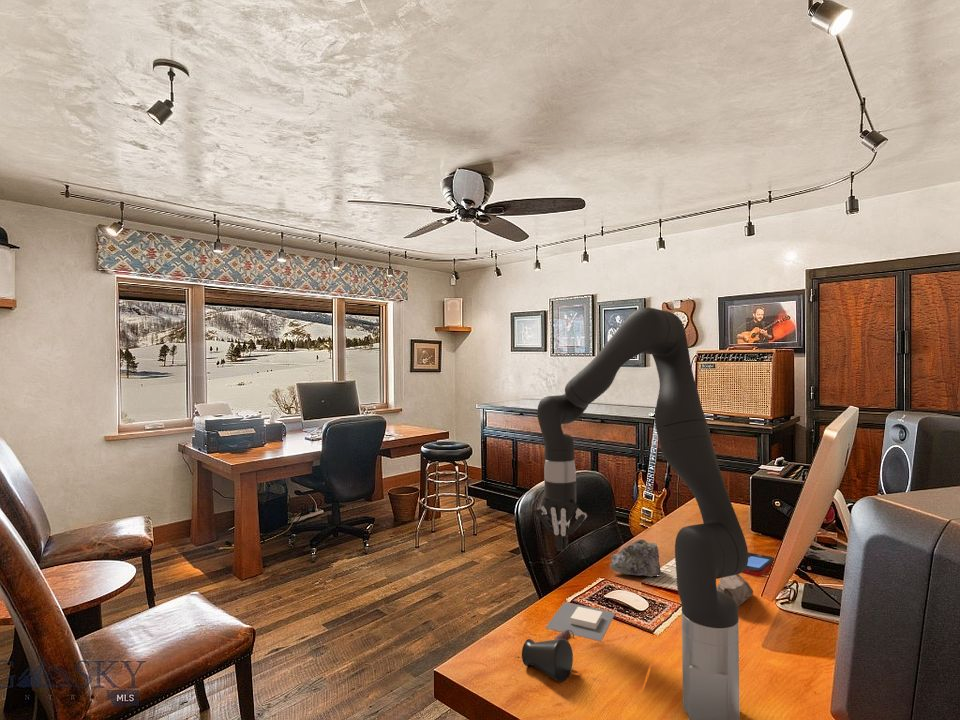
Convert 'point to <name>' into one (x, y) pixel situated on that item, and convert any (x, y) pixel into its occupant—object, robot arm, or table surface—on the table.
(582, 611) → the tile
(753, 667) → the table surface
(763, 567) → the game console
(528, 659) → the coffee pot
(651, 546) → the mineral rock
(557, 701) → the table surface
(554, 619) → the mat
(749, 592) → the stone
